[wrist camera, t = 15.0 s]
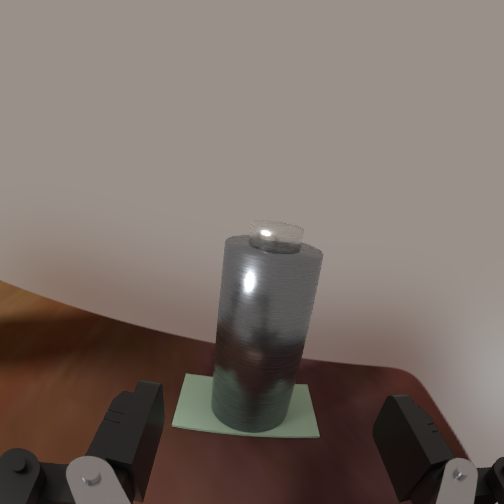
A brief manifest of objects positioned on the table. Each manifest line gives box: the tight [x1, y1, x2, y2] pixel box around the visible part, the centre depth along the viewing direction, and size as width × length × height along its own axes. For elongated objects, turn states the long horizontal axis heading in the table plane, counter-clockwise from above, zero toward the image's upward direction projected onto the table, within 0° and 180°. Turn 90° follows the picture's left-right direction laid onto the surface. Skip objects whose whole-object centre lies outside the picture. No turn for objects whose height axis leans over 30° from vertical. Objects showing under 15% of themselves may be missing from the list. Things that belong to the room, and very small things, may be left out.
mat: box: [172, 373, 320, 438], centre depth 21 cm, size 10×6×1 cm, turn 90°
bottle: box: [211, 221, 323, 433], centre depth 19 cm, size 6×6×13 cm
